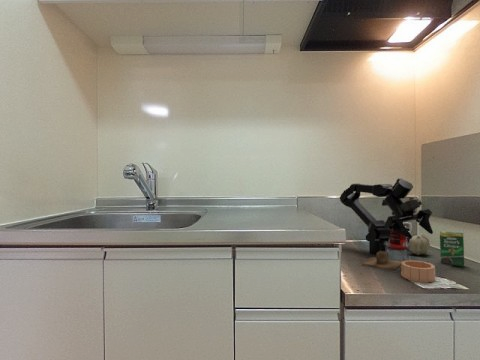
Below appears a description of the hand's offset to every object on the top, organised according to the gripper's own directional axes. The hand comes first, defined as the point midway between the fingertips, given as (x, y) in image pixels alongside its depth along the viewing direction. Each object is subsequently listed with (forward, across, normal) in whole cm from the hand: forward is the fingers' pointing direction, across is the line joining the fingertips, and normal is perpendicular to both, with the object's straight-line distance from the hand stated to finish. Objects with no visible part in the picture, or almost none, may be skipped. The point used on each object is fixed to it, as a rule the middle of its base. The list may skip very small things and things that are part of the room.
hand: (421, 235), depth 115 cm
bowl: (+14, -11, +3) cm, 18 cm away
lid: (+2, -14, +13) cm, 19 cm away
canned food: (-14, +12, +33) cm, 37 cm away
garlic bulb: (-3, +13, +24) cm, 27 cm away
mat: (+2, -14, +13) cm, 19 cm away
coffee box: (+8, +14, +13) cm, 21 cm away
